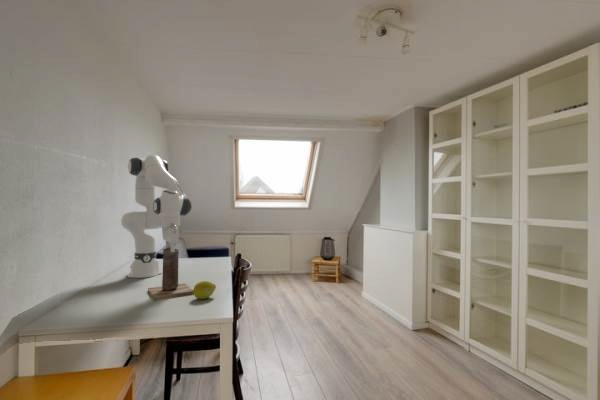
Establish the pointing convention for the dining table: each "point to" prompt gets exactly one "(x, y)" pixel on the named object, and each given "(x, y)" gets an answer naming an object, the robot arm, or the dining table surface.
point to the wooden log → (170, 269)
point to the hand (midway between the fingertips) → (170, 250)
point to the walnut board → (170, 292)
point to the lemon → (203, 289)
